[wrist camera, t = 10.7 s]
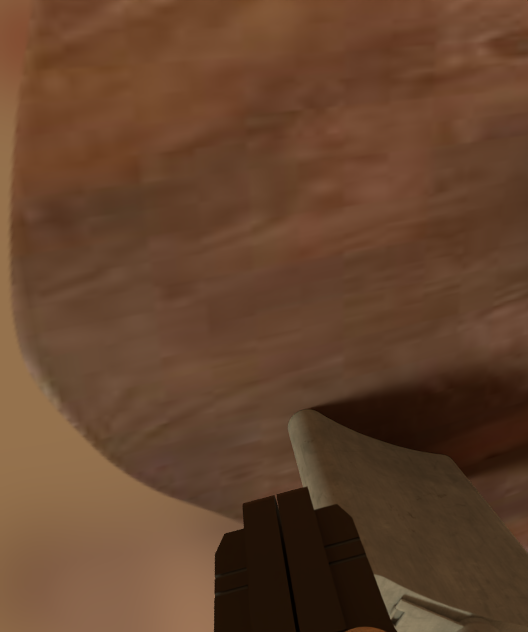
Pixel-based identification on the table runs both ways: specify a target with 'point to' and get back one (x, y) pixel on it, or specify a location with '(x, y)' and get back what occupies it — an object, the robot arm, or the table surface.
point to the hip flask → (417, 529)
